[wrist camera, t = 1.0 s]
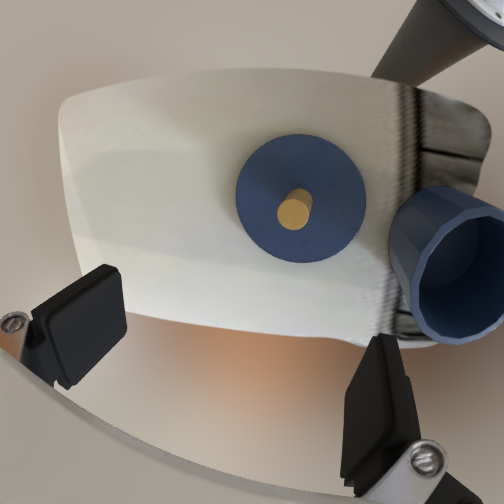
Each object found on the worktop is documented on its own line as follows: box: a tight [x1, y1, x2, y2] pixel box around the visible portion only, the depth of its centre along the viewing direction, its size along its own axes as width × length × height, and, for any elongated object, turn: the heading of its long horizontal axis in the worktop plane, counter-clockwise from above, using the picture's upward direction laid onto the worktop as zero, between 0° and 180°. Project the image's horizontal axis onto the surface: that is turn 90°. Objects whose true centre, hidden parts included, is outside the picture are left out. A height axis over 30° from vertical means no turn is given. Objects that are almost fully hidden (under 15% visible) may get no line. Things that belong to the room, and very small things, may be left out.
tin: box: [388, 186, 504, 345], centre depth 20 cm, size 11×11×10 cm
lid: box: [236, 134, 366, 263], centre depth 24 cm, size 12×12×7 cm
